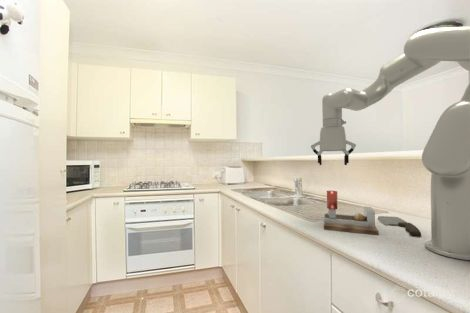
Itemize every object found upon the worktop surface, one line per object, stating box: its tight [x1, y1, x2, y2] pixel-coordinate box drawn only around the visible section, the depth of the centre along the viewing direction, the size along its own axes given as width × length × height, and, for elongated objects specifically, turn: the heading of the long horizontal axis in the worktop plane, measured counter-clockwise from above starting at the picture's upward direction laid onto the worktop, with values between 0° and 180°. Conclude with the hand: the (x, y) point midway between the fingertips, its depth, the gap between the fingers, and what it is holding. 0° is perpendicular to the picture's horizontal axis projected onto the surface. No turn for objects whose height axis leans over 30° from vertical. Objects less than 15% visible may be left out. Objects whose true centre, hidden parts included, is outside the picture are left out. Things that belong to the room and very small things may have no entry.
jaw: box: [326, 190, 338, 219], centre depth 94 cm, size 4×7×12 cm, turn 157°
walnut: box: [354, 213, 365, 221], centre depth 90 cm, size 4×4×4 cm
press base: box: [323, 223, 380, 236], centre depth 91 cm, size 18×16×2 cm
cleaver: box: [377, 215, 422, 238], centre depth 93 cm, size 30×10×2 cm, turn 162°
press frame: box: [323, 206, 376, 228], centre depth 92 cm, size 18×10×6 cm, turn 67°
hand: (332, 165), depth 95 cm, fingers open, 9 cm apart
